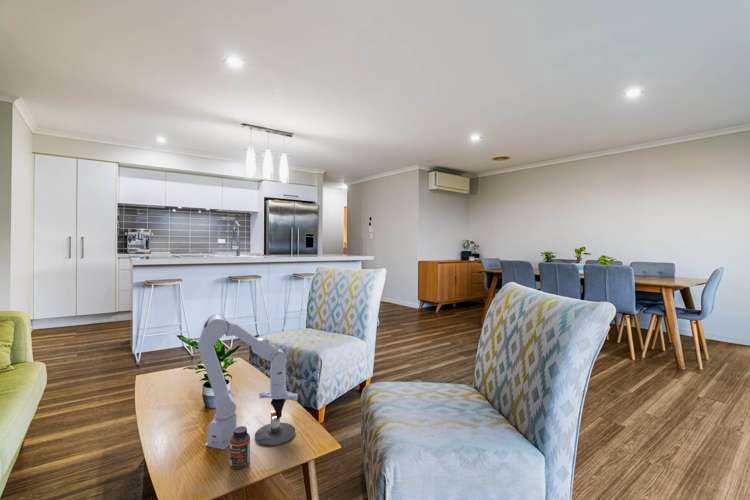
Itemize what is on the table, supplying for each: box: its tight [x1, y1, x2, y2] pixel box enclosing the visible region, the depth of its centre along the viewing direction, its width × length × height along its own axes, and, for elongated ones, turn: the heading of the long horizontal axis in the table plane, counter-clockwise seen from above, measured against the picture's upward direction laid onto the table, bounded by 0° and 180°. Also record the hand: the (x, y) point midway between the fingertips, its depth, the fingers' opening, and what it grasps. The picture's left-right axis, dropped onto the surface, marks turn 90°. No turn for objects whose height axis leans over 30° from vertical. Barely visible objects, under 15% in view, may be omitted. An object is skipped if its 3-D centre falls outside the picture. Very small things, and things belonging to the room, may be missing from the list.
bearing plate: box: [254, 422, 296, 447], centre depth 129 cm, size 14×14×1 cm
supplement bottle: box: [229, 425, 251, 470], centre depth 112 cm, size 6×6×11 cm
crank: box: [270, 409, 281, 434], centre depth 132 cm, size 9×3×5 cm, turn 20°
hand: (278, 417), depth 134 cm, fingers closed, pressing on crank
